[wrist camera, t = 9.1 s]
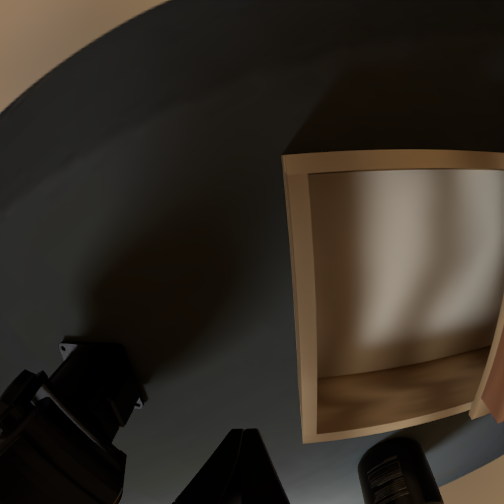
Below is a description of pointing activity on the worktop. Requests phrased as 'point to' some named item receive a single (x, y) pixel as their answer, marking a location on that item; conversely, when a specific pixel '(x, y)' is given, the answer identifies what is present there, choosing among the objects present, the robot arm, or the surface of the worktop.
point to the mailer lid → (492, 378)
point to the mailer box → (392, 284)
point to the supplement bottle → (397, 475)
